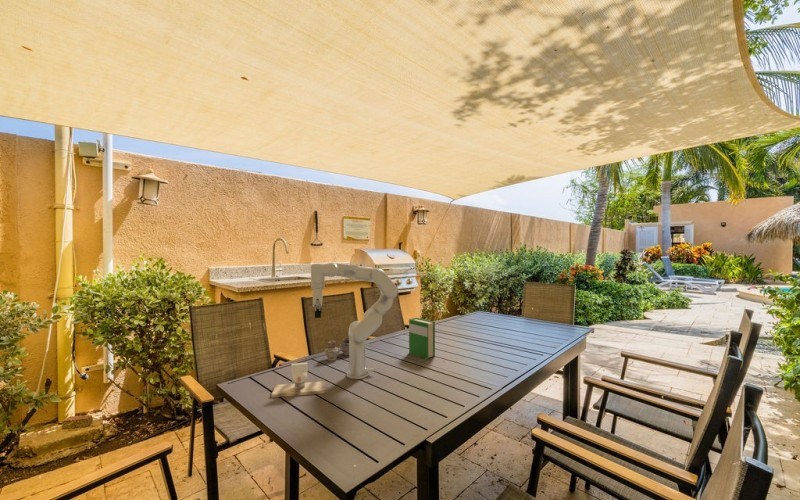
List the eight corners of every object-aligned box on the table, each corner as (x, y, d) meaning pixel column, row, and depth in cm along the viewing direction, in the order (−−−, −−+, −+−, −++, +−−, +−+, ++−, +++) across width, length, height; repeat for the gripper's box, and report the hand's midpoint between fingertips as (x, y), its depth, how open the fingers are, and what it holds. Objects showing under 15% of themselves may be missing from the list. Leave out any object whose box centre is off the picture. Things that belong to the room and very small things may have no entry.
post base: (325, 383, 187) (325, 374, 186) (324, 393, 175) (324, 383, 175) (275, 387, 182) (275, 378, 182) (271, 397, 170) (271, 387, 170)
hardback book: (434, 356, 231) (434, 321, 231) (427, 359, 227) (427, 323, 226) (416, 350, 245) (416, 317, 244) (409, 353, 240) (409, 319, 239)
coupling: (292, 378, 181) (292, 361, 181) (307, 376, 183) (307, 360, 183) (290, 385, 172) (290, 368, 172) (307, 383, 174) (307, 366, 174)
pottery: (320, 360, 226) (320, 342, 225) (347, 350, 246) (347, 334, 246) (332, 363, 219) (332, 345, 219) (359, 353, 239) (359, 336, 239)
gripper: (312, 284, 199) (312, 313, 200) (310, 287, 182) (310, 319, 183) (325, 283, 201) (325, 312, 201) (324, 287, 184) (324, 319, 184)
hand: (318, 316), depth 192 cm, fingers open, 9 cm apart
